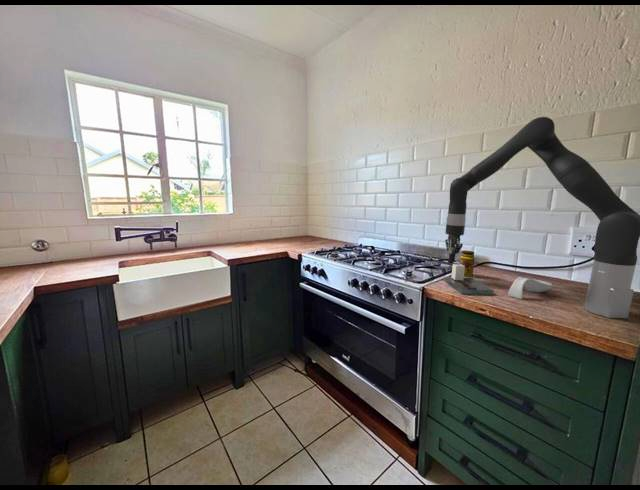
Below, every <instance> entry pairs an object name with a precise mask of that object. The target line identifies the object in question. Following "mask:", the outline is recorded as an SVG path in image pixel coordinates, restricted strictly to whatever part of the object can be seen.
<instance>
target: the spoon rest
mask: <svg viewBox="0 0 640 490" xmlns="http://www.w3.org/2000/svg"><path fill="white" fill-rule="evenodd" d="M553 286H554V284H553V283H551V282H547V281H544V280H539V279H534V278H533V279H532V278H526V277H522V276H518V277H516V279H515V280H514V282H513V283H512V284H511V286H510V287H509V290H508V292H507V296H508V297H511V298H515V299H519V300H522V299H523V294H524V293H523V292H524V290H525V291H527V292H532V293H543V292H547V291H548V290H550V289H551V288H552V287H553Z"/></svg>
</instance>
